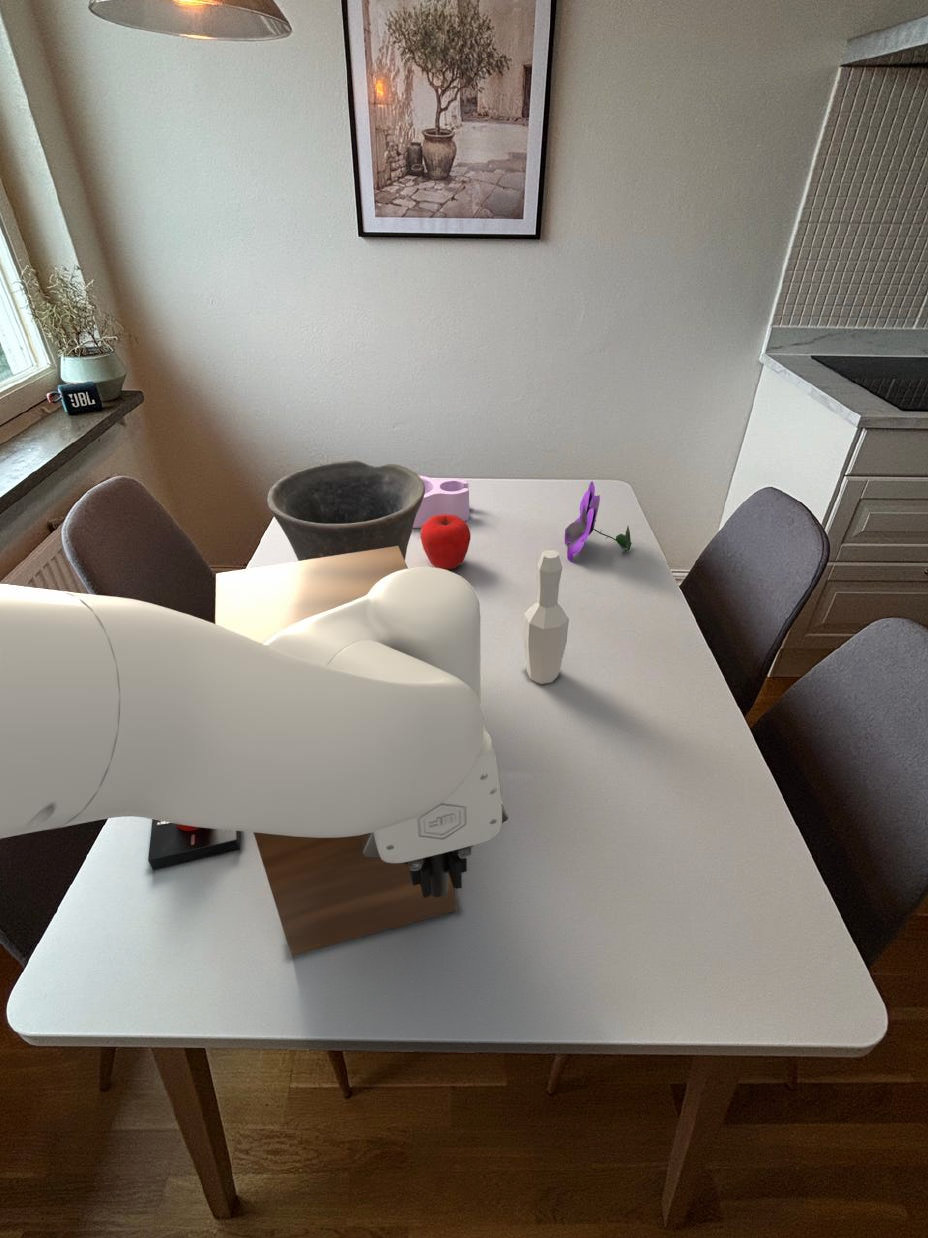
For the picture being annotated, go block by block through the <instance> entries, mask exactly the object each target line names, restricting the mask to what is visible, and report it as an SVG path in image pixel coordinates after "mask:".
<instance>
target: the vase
mask: <svg viewBox="0 0 928 1238" xmlns="http://www.w3.org/2000/svg"><path fill="white" fill-rule="evenodd" d="M419 476H420V475H419V474H418V473H417V472H415V471H413V470H411V469H409V468H408V467H406V466H404V465H401V464H398V463H397V464H395V463H387V464H384V465H380V466H375V465H369V464H368V463H365V462H362V461H360V460H342V461H340V460H339V461H332V462H328V463H321V464H317V465H314V466H310V467H305V468H303V469H301V470H297V471H295V472H292V473H290V474H288V475H286V476H283V477H282V478H280V479H279V480H277V481H276V482H275V483H274V485H273V486H272V487H271V488H270V489H269V491H268V494H267V498H266V502H267V507H268V509H269V511H270V513H271V514H272V516H273V517H274V519H275V520H276V522H277V524H279V526H280V528H281V530H282V531H283V533H284V535H285V536H286V538H287V540H288V542H289V544H290V546H291V548H292V550H293V552H294V555H295V557H296V559H297V561H302V560H309V559H315V558H322V557H328V556H335V555H341V554H348V553H355V552H361V551H368V550H374V549H381V548H387V547H394V546H399V548H400V551H401V553H402V555H403V558H404V560H405V561H406V557H407V553H408V552H407V551H408V546H409V542H410V540H411V539H410V538H411V536H412V532H413V529H414V528H413V524H414V521H415V517H416V514H417V512H418V510H419V508H420V505H421V503H422V500H423V497H424V494H425V485H424V482H423V480H422V479H421V478H420V477H419Z"/></svg>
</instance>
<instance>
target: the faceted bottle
mask: <svg viewBox="0 0 928 1238" xmlns="http://www.w3.org/2000/svg"><path fill="white" fill-rule="evenodd" d="M536 573H537V593H536V602H535V603H534V604H532V606H530V607H529V608H528V610H526V611H525V612H524V613H523V633H522V637H523V645H524V654H525V663H526V671H527V674H528V677H529V679H530V680H531V681H533V682H535V683H537V684H539V685H543V684H544V685H545V684H551V683H553V682H554V681H555V680H556V679H557V678H558V677H559V675H560V670H561V666H562V662H563V658H564V654H565V650H566V646H567V641H568V632H569V620H570V619H569V616H568V615H567V613H566V612H565V610H564V609H563V608H562V606H561V605H560V604H559V589H560V583H561V577H562V573H563V564H562V560H561V557H560V554H559V552H558V551H557V550H554V549H547V550H544V551H543V552H541V554H540V556H539V559H538V562H537V564H536Z"/></svg>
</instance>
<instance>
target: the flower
mask: <svg viewBox="0 0 928 1238" xmlns="http://www.w3.org/2000/svg"><path fill="white" fill-rule="evenodd" d="M595 492H596V487H595V482H594V481H593V480H591V481H590V483H589V485H588V489H587V491H586V492H585V493H584V495H583V496H582V498H581V502H580V504H579V517H578V518H577V519H575V520H574V521H573V522H571V523H570V524H569V525H568V526H567V527H566V528H565V529H564V545H567V550H566V558H567V560H568V561H569V562H571V563H573V562H574V560H575V559H574V555H577V554H579V553H580V552H581V550H582V549H583V547H584V546H585V541H588V539H589V536H590V535H591V534H592V533H593V532H594V531H595V532H596V533H598V534H600V535H601V536H605V537H606V538H605V540H606V539H608V538H609V539H611V540H612V539H613V540H614V541H615V542H616V543H617V544H618V545H619V546H620V547H621V548H623V549H624V550H623V551H622V554H624V553H626V552H628V553H630V552H631V547H632V539H631V532H630V527H629V526H627V527H626V530H625V533H619V534H617V535H616V536H615V538H614V537H612V536H610V535H607V534H605V533H603V532H602V530H600V531H599V530H597V529H595V526H596V522H597V516H598V512H599V508H600V502H601V496H600V495H595Z"/></svg>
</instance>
